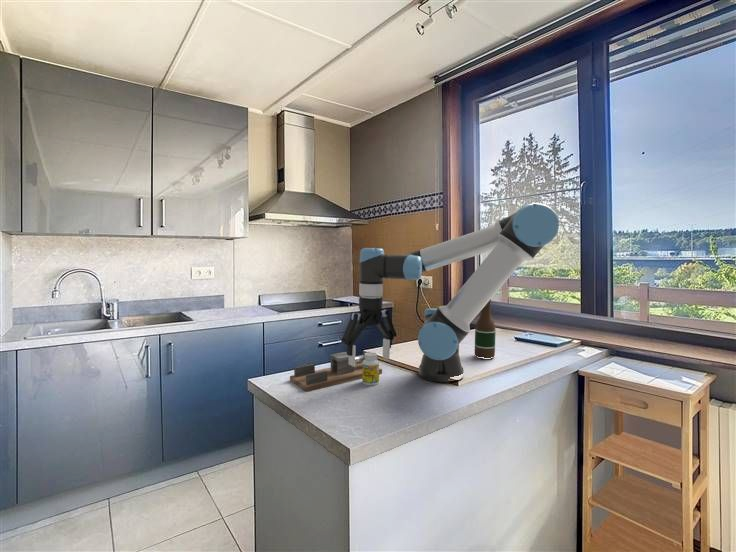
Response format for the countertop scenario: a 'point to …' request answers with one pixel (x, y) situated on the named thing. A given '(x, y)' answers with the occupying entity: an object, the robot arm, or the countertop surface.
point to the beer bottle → (485, 334)
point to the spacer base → (327, 373)
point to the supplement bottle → (370, 369)
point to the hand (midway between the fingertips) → (369, 361)
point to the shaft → (358, 358)
